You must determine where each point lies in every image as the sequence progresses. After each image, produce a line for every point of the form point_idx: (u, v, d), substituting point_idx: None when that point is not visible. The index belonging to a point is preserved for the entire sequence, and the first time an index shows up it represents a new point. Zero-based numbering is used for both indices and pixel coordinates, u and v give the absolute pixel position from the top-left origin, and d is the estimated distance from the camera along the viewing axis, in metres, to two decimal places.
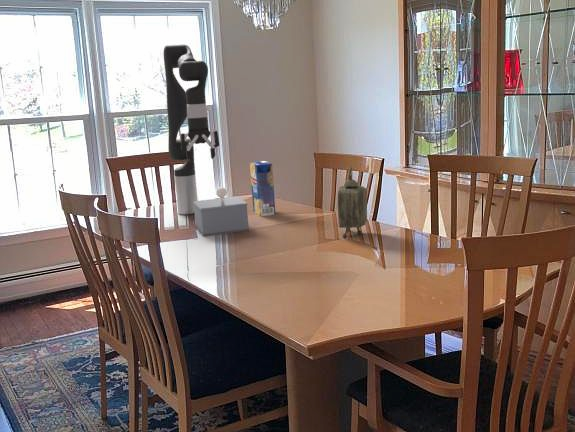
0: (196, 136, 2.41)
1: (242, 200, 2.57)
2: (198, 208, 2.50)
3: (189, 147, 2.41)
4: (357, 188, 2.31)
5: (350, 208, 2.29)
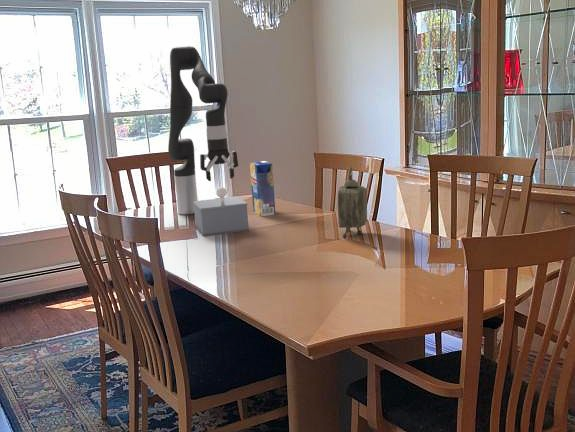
0: (216, 157, 2.45)
1: (242, 200, 2.57)
2: (198, 208, 2.50)
3: (209, 168, 2.46)
4: (357, 188, 2.31)
5: (350, 208, 2.29)
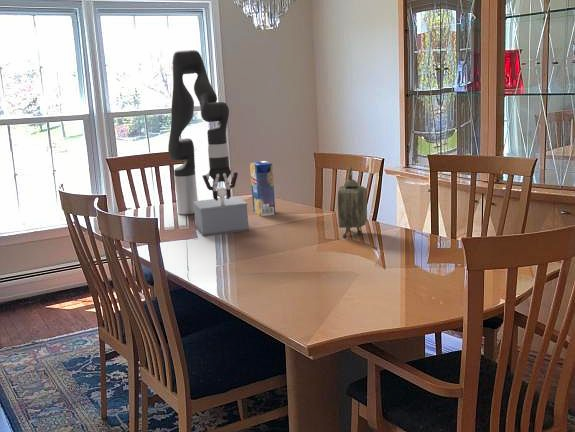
0: (217, 175, 2.46)
1: (242, 200, 2.57)
2: (198, 208, 2.50)
3: (215, 187, 2.48)
4: (357, 188, 2.31)
5: (350, 208, 2.29)
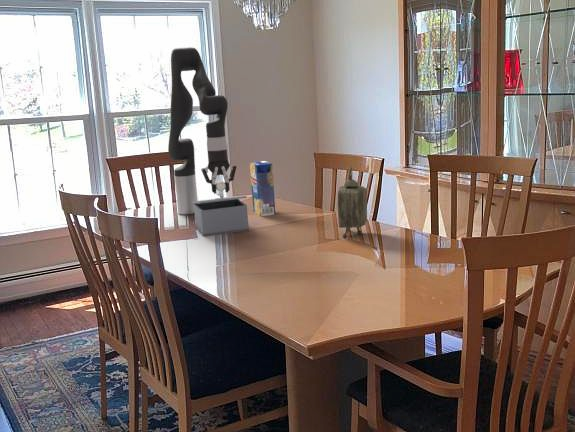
0: (216, 168, 2.47)
1: None
2: None
3: (213, 180, 2.49)
4: (357, 188, 2.31)
5: (350, 208, 2.29)
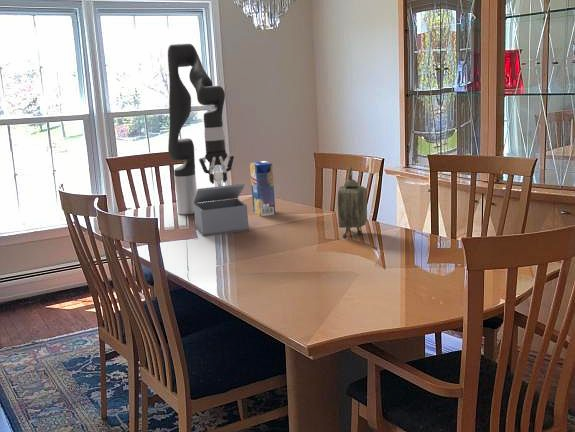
0: (213, 158, 2.49)
1: None
2: (196, 194, 2.51)
3: (211, 170, 2.51)
4: (357, 188, 2.31)
5: (350, 208, 2.29)
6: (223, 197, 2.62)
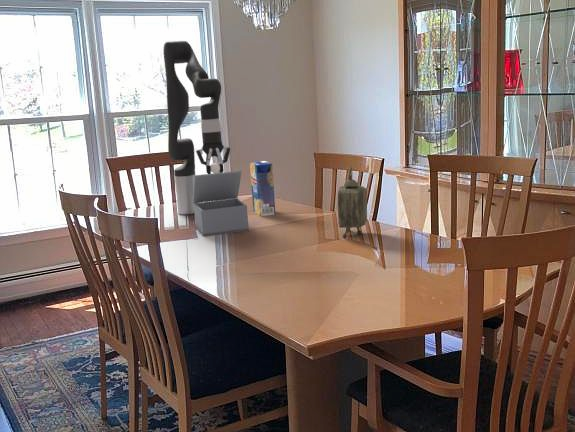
0: (210, 150, 2.54)
1: None
2: (194, 184, 2.53)
3: (208, 162, 2.55)
4: (357, 188, 2.31)
5: (350, 208, 2.29)
6: (223, 195, 2.63)
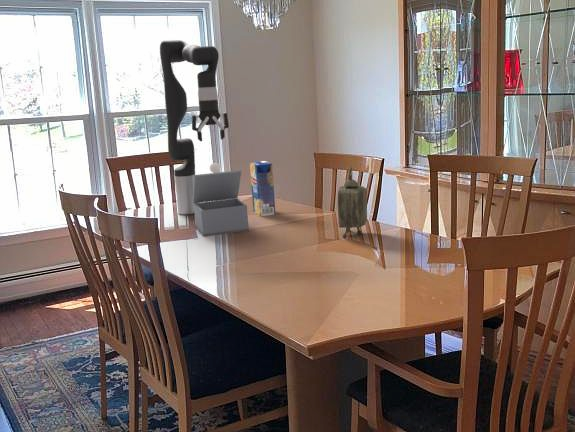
0: (207, 118, 2.53)
1: None
2: (194, 183, 2.53)
3: (200, 128, 2.54)
4: (357, 188, 2.31)
5: (350, 208, 2.29)
6: (223, 195, 2.63)
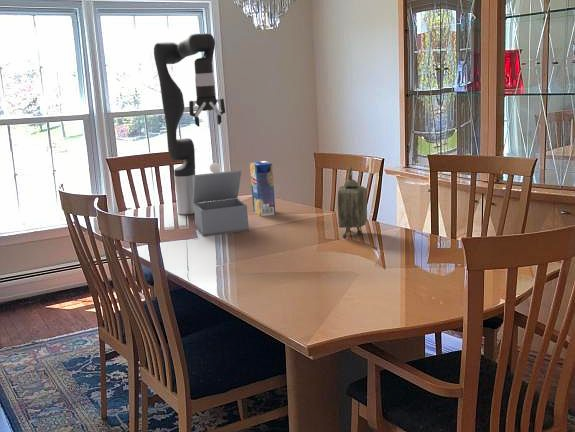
0: (204, 103, 2.60)
1: None
2: (194, 183, 2.53)
3: (197, 113, 2.61)
4: (357, 188, 2.31)
5: (350, 208, 2.29)
6: (223, 195, 2.63)
